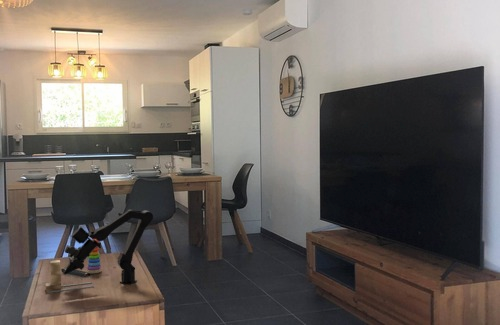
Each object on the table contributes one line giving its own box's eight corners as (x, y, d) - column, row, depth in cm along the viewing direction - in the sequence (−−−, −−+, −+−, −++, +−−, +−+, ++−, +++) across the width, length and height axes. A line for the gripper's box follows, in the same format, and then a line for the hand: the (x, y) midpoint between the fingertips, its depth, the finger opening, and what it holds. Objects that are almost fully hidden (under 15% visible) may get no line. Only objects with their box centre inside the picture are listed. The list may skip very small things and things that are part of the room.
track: (91, 284, 273) (91, 282, 273) (93, 288, 265) (93, 286, 265) (46, 290, 264) (46, 287, 264) (46, 294, 257) (46, 291, 257)
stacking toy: (97, 274, 293) (96, 240, 292) (84, 273, 295) (83, 240, 294) (104, 270, 301) (103, 238, 300) (91, 270, 303) (90, 237, 302)
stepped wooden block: (60, 287, 265) (59, 259, 265) (61, 290, 260) (60, 262, 260) (45, 289, 263) (44, 261, 262) (46, 292, 258) (45, 263, 257)
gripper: (72, 236, 273) (50, 259, 269) (76, 242, 256) (52, 268, 252) (88, 249, 277) (67, 273, 273) (93, 257, 260) (70, 282, 256)
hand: (64, 273), depth 263 cm, fingers closed
